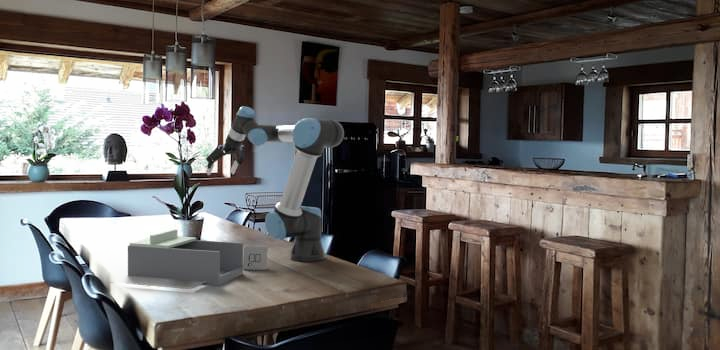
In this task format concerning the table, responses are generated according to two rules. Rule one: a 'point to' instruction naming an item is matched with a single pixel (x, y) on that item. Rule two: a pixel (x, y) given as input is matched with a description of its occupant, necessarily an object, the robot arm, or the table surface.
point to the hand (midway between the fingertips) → (220, 173)
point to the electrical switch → (255, 258)
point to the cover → (163, 240)
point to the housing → (188, 261)
